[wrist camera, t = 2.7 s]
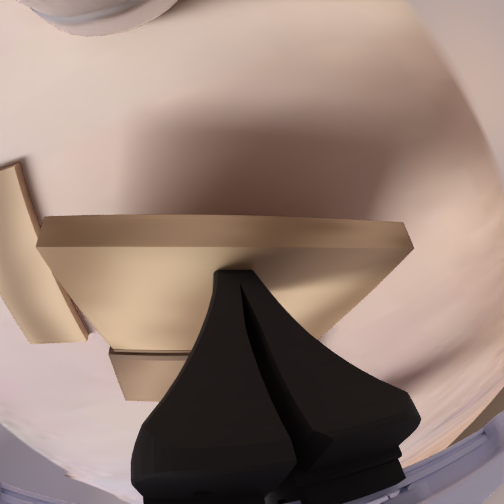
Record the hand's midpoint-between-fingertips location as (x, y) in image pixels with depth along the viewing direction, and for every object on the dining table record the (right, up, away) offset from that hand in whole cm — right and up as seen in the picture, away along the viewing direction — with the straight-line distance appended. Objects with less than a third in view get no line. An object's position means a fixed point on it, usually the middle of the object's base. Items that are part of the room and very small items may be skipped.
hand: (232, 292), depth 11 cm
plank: (-13, +1, +4) cm, 14 cm away
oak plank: (-1, -1, +4) cm, 4 cm away
